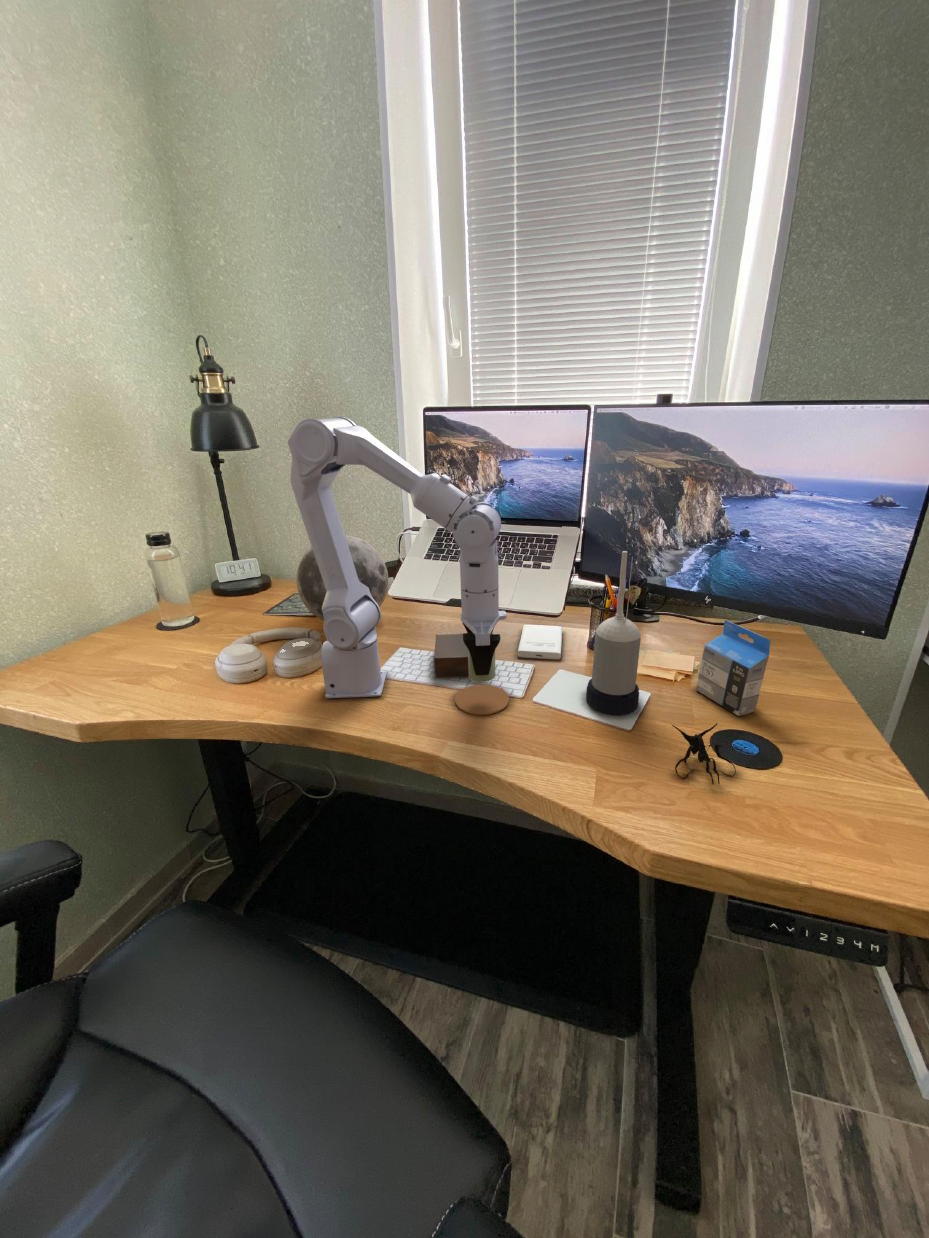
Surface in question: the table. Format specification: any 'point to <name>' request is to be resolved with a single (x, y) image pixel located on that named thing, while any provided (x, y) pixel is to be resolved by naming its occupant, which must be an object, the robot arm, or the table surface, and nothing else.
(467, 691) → the coaster
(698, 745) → the creature
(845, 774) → the table surface
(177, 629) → the table surface
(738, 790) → the table surface
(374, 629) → the robot arm
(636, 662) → the humidifier
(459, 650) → the stand
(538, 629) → the hard drive
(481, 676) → the sage green cylinder
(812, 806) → the table surface
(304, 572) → the moon model
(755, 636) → the label tape box
